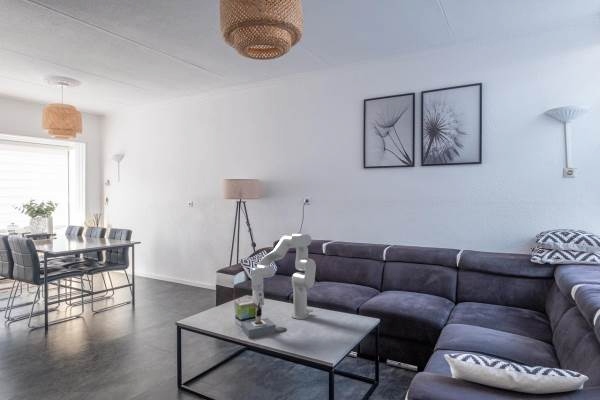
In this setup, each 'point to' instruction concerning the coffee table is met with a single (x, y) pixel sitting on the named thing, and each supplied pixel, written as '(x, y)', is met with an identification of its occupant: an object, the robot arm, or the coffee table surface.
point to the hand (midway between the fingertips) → (258, 314)
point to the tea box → (244, 312)
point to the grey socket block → (258, 328)
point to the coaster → (280, 329)
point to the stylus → (257, 318)
